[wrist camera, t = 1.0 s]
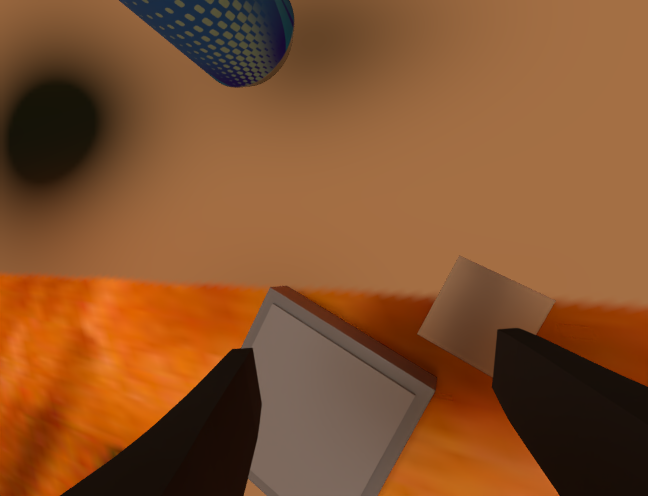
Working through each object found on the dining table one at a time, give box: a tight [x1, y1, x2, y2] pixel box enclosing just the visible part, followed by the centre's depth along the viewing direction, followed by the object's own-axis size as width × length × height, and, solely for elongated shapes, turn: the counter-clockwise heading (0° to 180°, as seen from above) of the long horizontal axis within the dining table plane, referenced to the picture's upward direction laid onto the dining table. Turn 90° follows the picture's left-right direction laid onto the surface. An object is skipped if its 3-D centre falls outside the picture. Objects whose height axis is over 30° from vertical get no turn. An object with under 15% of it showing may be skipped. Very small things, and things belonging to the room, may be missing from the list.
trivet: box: [241, 286, 437, 496], centre depth 23 cm, size 12×12×3 cm
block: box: [417, 256, 556, 378], centre depth 18 cm, size 4×4×5 cm
